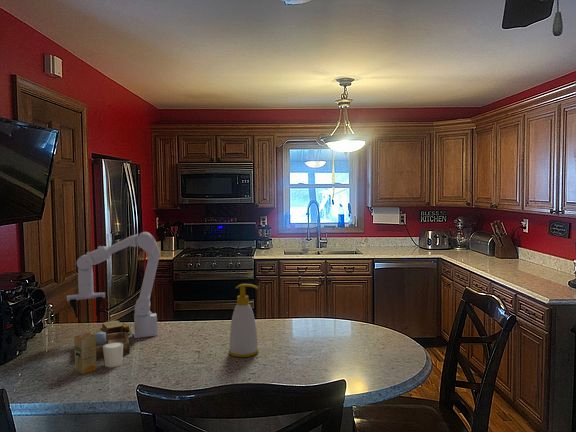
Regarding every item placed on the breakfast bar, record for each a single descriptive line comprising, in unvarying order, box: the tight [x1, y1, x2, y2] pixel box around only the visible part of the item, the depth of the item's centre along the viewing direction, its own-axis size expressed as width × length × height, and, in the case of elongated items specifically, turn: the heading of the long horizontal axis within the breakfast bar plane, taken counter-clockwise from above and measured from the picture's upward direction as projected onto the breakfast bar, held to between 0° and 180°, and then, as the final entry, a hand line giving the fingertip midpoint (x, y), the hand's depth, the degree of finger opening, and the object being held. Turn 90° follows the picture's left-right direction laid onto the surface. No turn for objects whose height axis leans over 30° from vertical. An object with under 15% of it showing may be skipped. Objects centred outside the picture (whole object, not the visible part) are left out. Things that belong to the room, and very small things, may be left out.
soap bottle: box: [228, 283, 259, 358], centre depth 172 cm, size 11×12×26 cm
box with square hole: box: [96, 332, 131, 359], centre depth 177 cm, size 18×16×4 cm
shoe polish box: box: [73, 332, 97, 375], centre depth 157 cm, size 5×5×12 cm
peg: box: [94, 331, 106, 346], centre depth 179 cm, size 4×4×6 cm
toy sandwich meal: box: [100, 320, 132, 336], centre depth 197 cm, size 12×14×5 cm
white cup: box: [103, 342, 124, 368], centre depth 162 cm, size 7×7×7 cm
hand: (87, 316), depth 190 cm, fingers open, 7 cm apart
